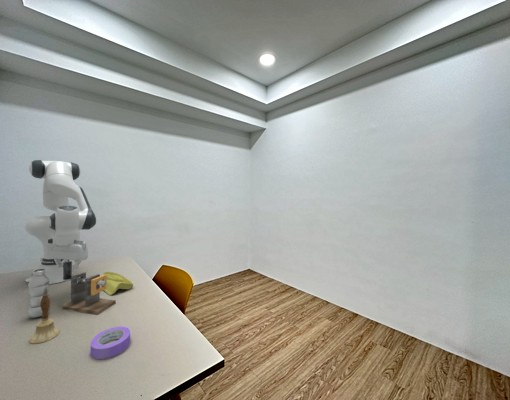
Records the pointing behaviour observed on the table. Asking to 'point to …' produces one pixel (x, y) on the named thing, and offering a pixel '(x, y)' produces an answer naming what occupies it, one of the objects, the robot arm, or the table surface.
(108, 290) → the plastic component
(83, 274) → the shaft frame
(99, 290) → the frame
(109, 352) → the masking tape
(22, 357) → the table surface
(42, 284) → the plastic bottle
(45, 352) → the table surface
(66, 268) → the shaft
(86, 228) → the robot arm
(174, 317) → the table surface
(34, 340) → the hand bell
